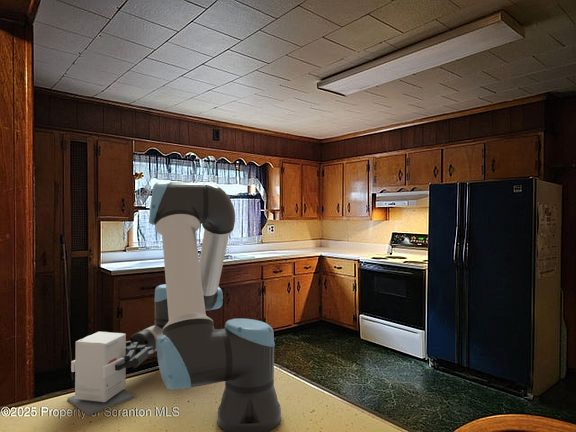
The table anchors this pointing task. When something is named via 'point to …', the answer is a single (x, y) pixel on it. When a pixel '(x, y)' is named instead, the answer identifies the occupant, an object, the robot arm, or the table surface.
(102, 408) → the mat
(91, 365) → the supplement box
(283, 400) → the table surface
